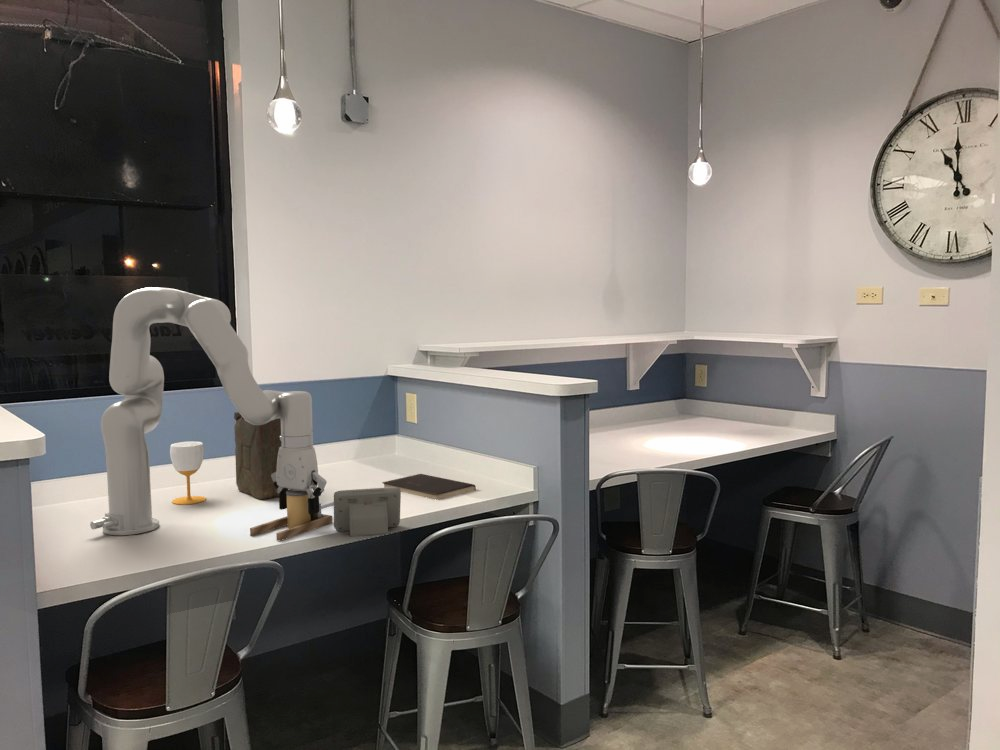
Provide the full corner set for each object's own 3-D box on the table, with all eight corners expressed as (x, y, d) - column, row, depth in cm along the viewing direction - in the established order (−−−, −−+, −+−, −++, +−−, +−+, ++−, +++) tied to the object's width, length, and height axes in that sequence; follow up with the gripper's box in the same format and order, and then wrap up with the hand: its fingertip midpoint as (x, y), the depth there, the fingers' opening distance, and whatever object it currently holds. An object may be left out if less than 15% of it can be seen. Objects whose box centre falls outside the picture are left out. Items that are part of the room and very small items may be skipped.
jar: (299, 531, 197) (298, 494, 196) (282, 527, 200) (280, 491, 199) (316, 525, 202) (315, 489, 201) (298, 522, 205) (297, 487, 204)
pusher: (318, 524, 202) (317, 504, 201) (297, 520, 205) (296, 501, 205) (345, 514, 210) (345, 495, 210) (325, 511, 214) (324, 492, 214)
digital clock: (402, 525, 202) (401, 483, 201) (399, 535, 193) (399, 491, 192) (336, 526, 201) (335, 484, 200) (330, 537, 192) (329, 492, 191)
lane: (279, 541, 189) (279, 533, 189) (250, 535, 194) (249, 528, 193) (332, 522, 204) (332, 515, 204) (303, 517, 209) (303, 510, 209)
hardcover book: (436, 502, 227) (436, 494, 226) (382, 489, 242) (382, 482, 242) (475, 491, 239) (475, 484, 238) (422, 480, 254) (422, 473, 254)
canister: (288, 496, 232) (285, 409, 230) (260, 501, 226) (257, 412, 224) (260, 485, 246) (257, 403, 244) (233, 490, 241) (230, 406, 238)
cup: (191, 505, 222) (189, 447, 221) (164, 503, 225) (161, 446, 224) (213, 498, 231) (211, 442, 229) (186, 495, 234) (184, 440, 232)
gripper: (260, 441, 200) (262, 509, 202) (313, 447, 192) (315, 518, 193) (282, 436, 207) (284, 503, 208) (334, 442, 198) (336, 511, 200)
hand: (299, 510), depth 201 cm, fingers open, 9 cm apart
